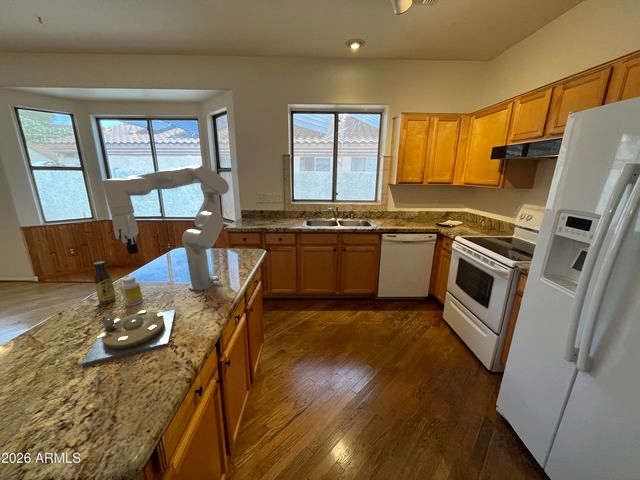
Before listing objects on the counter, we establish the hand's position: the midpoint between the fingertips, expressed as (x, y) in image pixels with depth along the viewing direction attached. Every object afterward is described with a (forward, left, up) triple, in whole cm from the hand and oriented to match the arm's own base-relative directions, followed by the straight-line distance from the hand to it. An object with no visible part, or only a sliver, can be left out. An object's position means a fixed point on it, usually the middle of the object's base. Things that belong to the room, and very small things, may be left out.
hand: (133, 252), depth 106 cm
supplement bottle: (+6, -9, -27) cm, 30 cm away
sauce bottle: (+18, -16, -27) cm, 37 cm away
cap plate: (-1, +21, -27) cm, 34 cm away
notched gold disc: (-1, +21, -25) cm, 33 cm away
